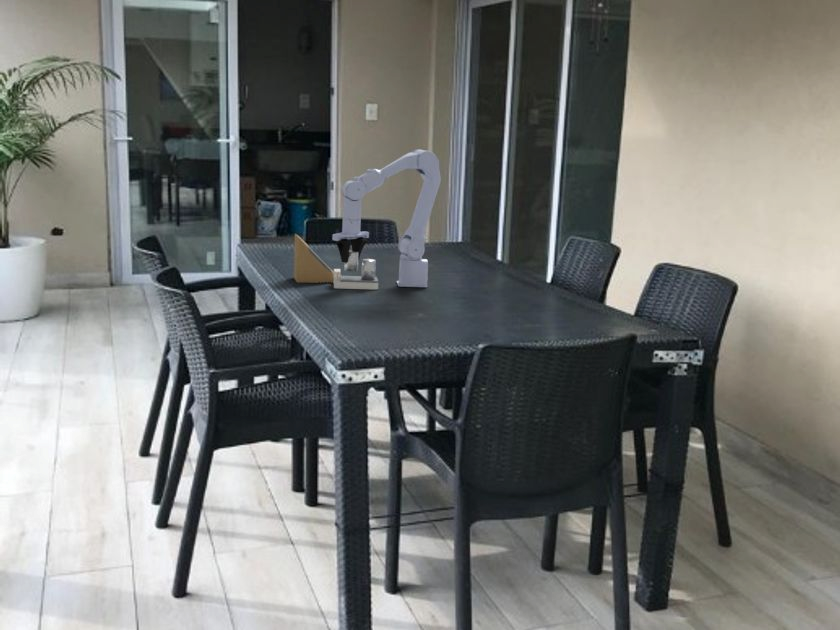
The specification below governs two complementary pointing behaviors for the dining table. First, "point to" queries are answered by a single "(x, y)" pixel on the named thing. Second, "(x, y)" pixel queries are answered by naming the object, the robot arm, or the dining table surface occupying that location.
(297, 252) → the sandwich container
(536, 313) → the dining table surface
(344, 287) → the grey boxy piece
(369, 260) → the steel weight
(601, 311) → the dining table surface
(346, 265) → the cylinder
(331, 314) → the dining table surface
